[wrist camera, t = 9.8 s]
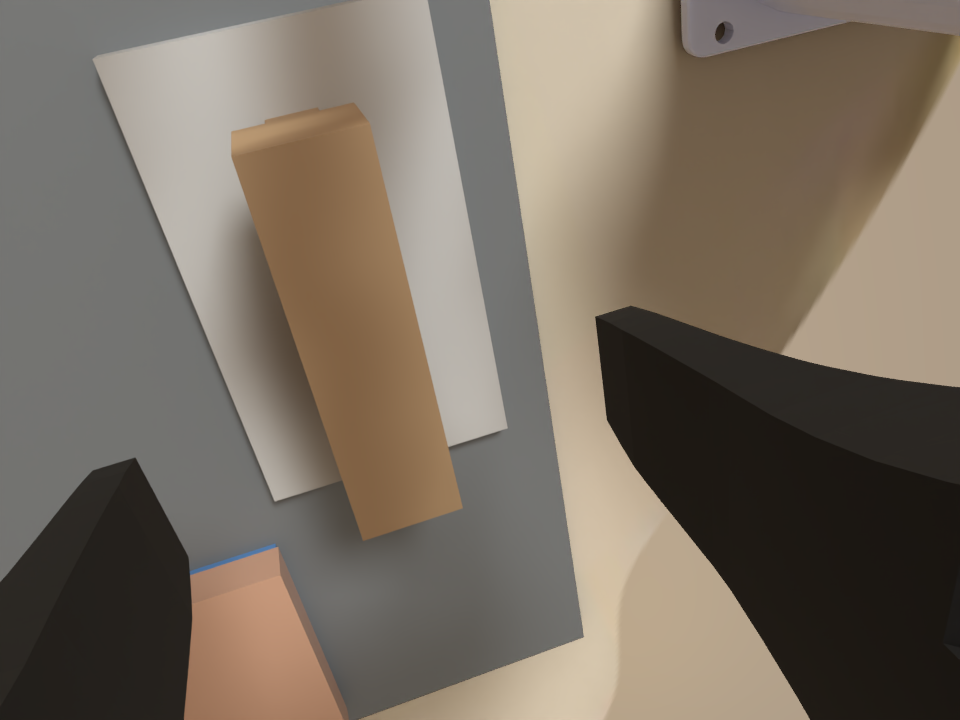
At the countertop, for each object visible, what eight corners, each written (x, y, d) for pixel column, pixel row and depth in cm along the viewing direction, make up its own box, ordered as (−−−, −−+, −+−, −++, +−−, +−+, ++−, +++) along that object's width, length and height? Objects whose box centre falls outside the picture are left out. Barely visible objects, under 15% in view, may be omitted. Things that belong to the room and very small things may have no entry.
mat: (454, -185, 16) (461, -188, 16) (577, 624, 30) (583, 637, 29) (-725, 30, 13) (-763, 34, 12) (15, 828, 26) (10, 846, 26)
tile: (280, 575, 22) (351, 738, 26) (277, 539, 23) (346, 701, 27) (-14, 671, 21) (110, 827, 25) (0, 629, 22) (116, 784, 26)
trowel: (419, -15, 17) (481, 0, 13) (501, 417, 23) (561, 523, 19) (96, 55, 16) (49, 98, 12) (273, 488, 22) (283, 618, 18)
